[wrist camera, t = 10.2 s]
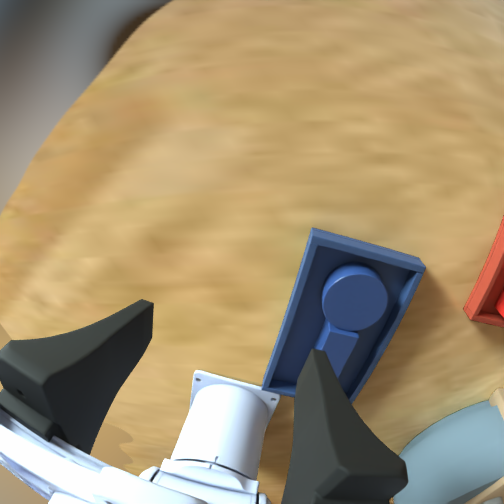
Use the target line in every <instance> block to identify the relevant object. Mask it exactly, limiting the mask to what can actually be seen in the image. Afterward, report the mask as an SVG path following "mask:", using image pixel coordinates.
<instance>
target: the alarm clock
mask: <svg viewBox="0 0 504 504" xmlns="http://www.w3.org/2000/svg"><path fill="white" fill-rule="evenodd" d="M399 457H400V458H401V459H403V460H404V461H405V463H406V467H407V474H408V484H407V486H406V487H405V488H404V489H403V490H402V491H400V492H399V493H398V494H396V495H395V496H393V498H394V504H504V388H497V389H496V390H495V391H494V392H493V393H492V395H491V396H490V398H489V400H487V401H483V402H480V403H477V404H475V405H472V406H469V407H466V408H464V409H461V410H459V411H457V412H455V413H453V414H451V415H449V416H447V417H445V418H443V419H442V420H440V421H438V422H437V423H435V424H433V425H431V426H430V427H428V428H427V429H426V430H424V431H423V432H422V433H420V434H419V435H417V436H416V437H415V438H414V439H413V440H412V441H411V442H410V443H409V444H408V445H407V446H405V448H404V449H403V451H402V452H401V454H400V455H399Z"/></svg>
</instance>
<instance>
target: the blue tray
mask: <svg viewBox="0 0 504 504" xmlns="http://www.w3.org/2000/svg"><path fill="white" fill-rule="evenodd" d="M350 262H360V263H364V264H367V265H369V266H371V267H373V268H374V269H375V270H376V271H377V272H378V273H379V275H380V276H381V278H382V281H383V283H384V285H385V287H386V290H387V293H388V304H387V308H386V310H385V312H384V314H383V316H382V317H381V318H380V319H379V320H378V321H377V322H376V323H375V324H373V325H372V326H370V327H368V328H366V329H363V330H358V335H359V339H358V341H357V343H356V345H355V347H354V349H353V351H352V353H351V354H350V356H349V358H348V360H347V362H346V364H345V366H344V368H343V370H342V371H341V373H340V375H339V377H338V381H339V383H340V385H341V387H342V389H343V391H344V392H345V394H346V396H347V398H348V399H349V401H350V403H351V405H352V403H353V402H354V400H355V399H356V397H357V396H358V394H359V393H360V391H361V389H362V388H363V386H364V385H365V383H366V382H367V380H368V378H369V377H370V375H371V373H372V372H373V370H374V368H375V367H376V365H377V363H378V362H379V360H380V358H381V357H382V355H383V353H384V351H385V350H386V348H387V346H388V344H389V342H390V341H391V339H392V337H393V335H394V333H395V331H396V329H397V328H398V326H399V324H400V322H401V320H402V318H403V316H404V314H405V312H406V310H407V308H408V306H409V304H410V302H411V300H412V298H413V295H414V293H415V291H416V289H417V287H418V285H419V282H420V280H421V278H422V276H423V273H424V271H425V269H426V267H425V265H424V264H423V263H422V261H421V260H420V259H419V258H418V257H415V256H411V255H408V254H405V253H401V252H398V251H394V250H391V249H388V248H384V247H381V246H377V245H374V244H370V243H367V242H363V241H360V240H356V239H352V238H349V237H345V236H342V235H338V234H334V233H331V232H327V231H323V230H319V229H316V228H311V232H310V235H309V239H308V242H307V245H306V249H305V252H304V255H303V259H302V262H301V265H300V269H299V272H298V275H297V278H296V282H295V285H294V288H293V291H292V294H291V298H290V301H289V304H288V307H287V310H286V313H285V316H284V319H283V322H282V325H281V328H280V331H279V334H278V337H277V340H276V343H275V346H274V349H273V352H272V355H271V358H270V361H269V364H268V366H267V369H266V372H265V375H264V378H263V383H262V389H261V390H262V391H267V392H271V393H276V394H280V395H285V396H290V397H294V398H295V392H296V386H297V379H298V377H299V375H300V373H301V371H302V369H303V367H304V364H305V362H306V360H307V358H308V356H309V354H310V351H311V349H312V348H314V346H315V343H316V341H317V339H318V336H319V334H320V332H321V329H322V327H323V324H324V322H325V319H326V317H325V315H324V312H323V308H322V294H321V291H322V285H323V283H324V280H325V279H326V277H327V276H328V274H329V273H330V272H331V271H332V270H334V269H335V268H337V267H338V266H340V265H343V264H346V263H350Z"/></svg>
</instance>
